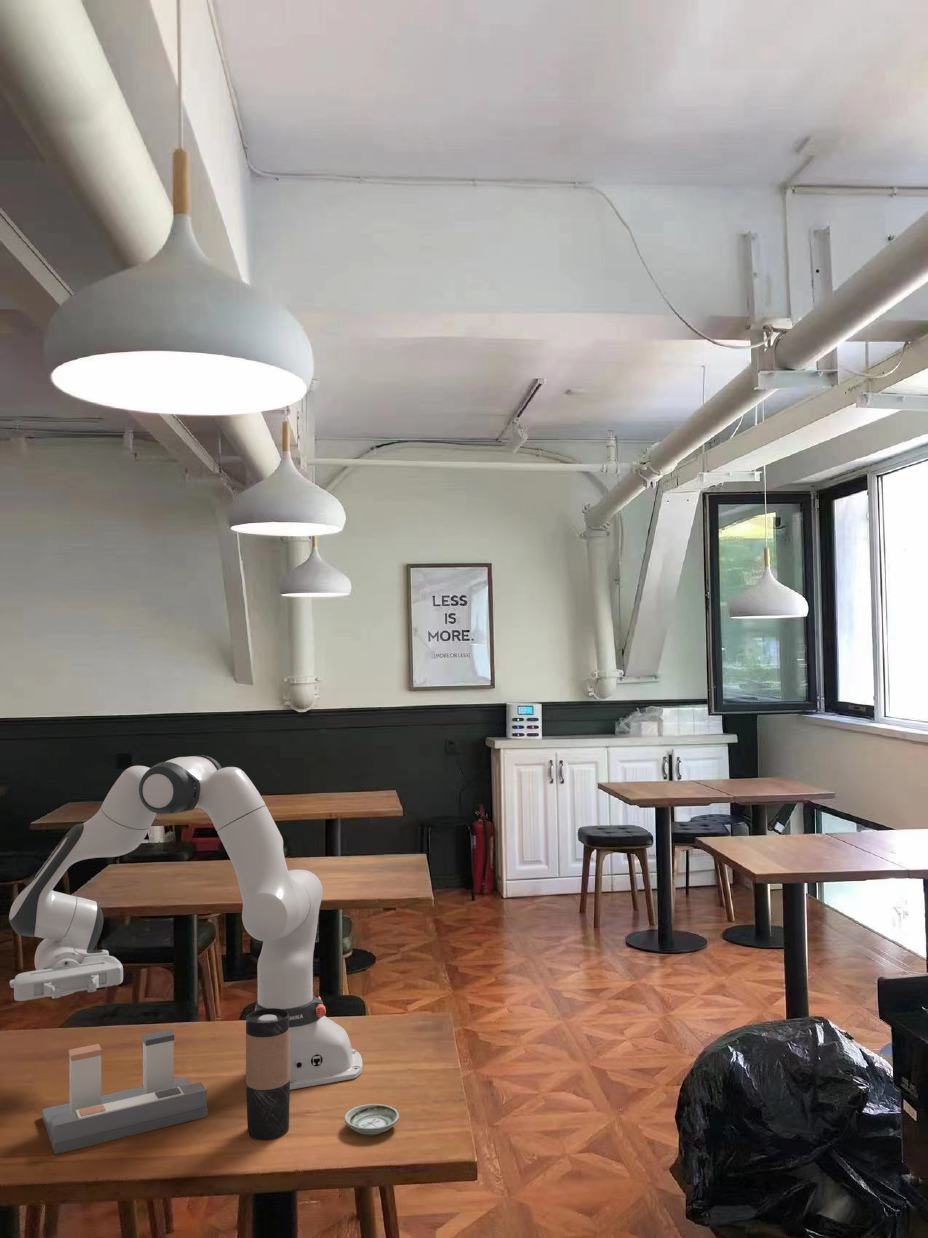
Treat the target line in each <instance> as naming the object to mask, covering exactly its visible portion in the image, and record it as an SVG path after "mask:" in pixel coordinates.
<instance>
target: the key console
mask: <svg viewBox="0 0 928 1238" xmlns="http://www.w3.org/2000/svg"><path fill="white" fill-rule="evenodd" d="M207 1091H208V1090H207V1088H206V1087H205V1086H204V1085H203V1083H202V1082H196V1083H190V1081H189V1080H188V1078H187V1077H186V1076H183V1077H179V1078H174V1088H171V1089H166V1090H162V1091H158V1092H153V1093H149V1094H145V1095H143V1086H138V1087H135V1088H129V1089H126V1090H125V1089H124V1090H121V1091H116V1092H113V1093H108V1094H104V1095H101V1105H97V1106H92V1107H88V1108H84V1109H79V1110H76V1111H74V1112H69V1102H68V1103H64V1104H58V1105H54V1106H50V1107H45V1108H43V1109H42V1111H41V1113H42V1116H41V1117H42V1121H43V1123H44V1126H45V1129H46V1132H47V1135H48V1139H49V1141H50V1145H51V1148H52V1150H53V1154H54V1155H58V1154H62V1153H66V1152H70V1151H74V1150H78V1149H82V1148H86V1147H90V1146H95V1145H98V1144H102V1143H106V1142H110V1141H115V1140H119V1139H122V1138H127V1137H130V1136H135V1135H139V1134H143V1133H147V1132H150V1131H154V1130H159V1129H163V1128H166V1127H171V1126H175V1125H179V1124H183V1123H186V1122H190V1121H195V1120H198V1119H203V1118H207V1117H208V1116H209V1115H208V1114H209V1113H208V1112H209V1109H208V1105H207V1104H208V1103H207V1102H208V1100H207V1099H208V1092H207Z"/></svg>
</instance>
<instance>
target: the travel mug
mask: <svg viewBox="0 0 928 1238" xmlns="http://www.w3.org/2000/svg"><path fill="white" fill-rule="evenodd" d="M245 1093H246V1097H245V1098H246V1117H247V1118H246V1119H247V1120H246V1121H247V1134H248V1136H249V1137H250V1138H252V1139H255V1140H257V1141H271V1140H275V1139H278V1138H280V1137H283V1136H285V1134H287V1133H288V1131H289V1129H290V1103H291V1102H290V1095H291V1090H290V1053H289V1014H288V1012H287V1011H285V1010H283V1009H277V1008H268V1009H261V1010H257V1011H255V1010H254V1011H252V1012H249V1013H248V1014H247V1015H246V1017H245Z"/></svg>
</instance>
